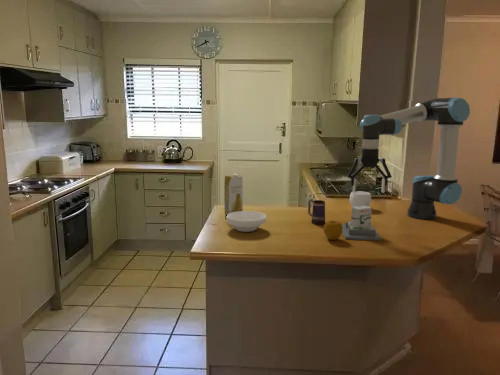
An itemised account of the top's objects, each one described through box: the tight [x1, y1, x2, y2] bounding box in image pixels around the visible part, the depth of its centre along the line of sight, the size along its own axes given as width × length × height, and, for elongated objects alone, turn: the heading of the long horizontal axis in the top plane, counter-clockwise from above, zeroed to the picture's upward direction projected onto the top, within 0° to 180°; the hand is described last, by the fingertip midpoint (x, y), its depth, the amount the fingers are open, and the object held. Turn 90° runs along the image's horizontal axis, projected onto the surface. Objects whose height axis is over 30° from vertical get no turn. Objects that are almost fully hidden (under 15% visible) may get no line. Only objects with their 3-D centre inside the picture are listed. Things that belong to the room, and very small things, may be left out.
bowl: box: [225, 210, 267, 233], centre depth 197 cm, size 20×20×7 cm
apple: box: [323, 220, 343, 241], centre depth 183 cm, size 9×8×9 cm
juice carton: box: [223, 173, 244, 216], centre depth 221 cm, size 9×8×24 cm
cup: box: [349, 190, 372, 207], centre depth 241 cm, size 12×12×10 cm
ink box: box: [350, 206, 372, 230], centre depth 192 cm, size 9×5×12 cm, turn 119°
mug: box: [307, 198, 326, 225], centre depth 211 cm, size 10×7×12 cm
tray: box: [342, 221, 382, 242], centre depth 193 cm, size 16×20×4 cm
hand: (368, 192), depth 193 cm, fingers open, 13 cm apart
